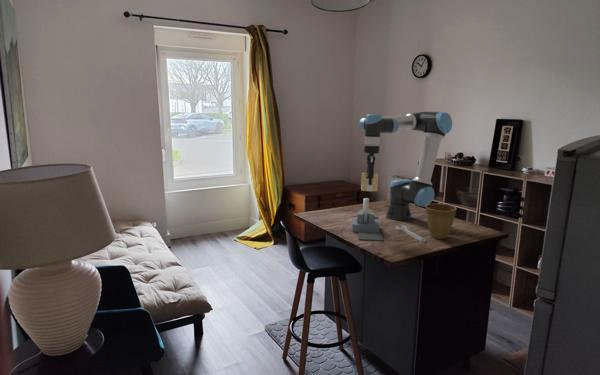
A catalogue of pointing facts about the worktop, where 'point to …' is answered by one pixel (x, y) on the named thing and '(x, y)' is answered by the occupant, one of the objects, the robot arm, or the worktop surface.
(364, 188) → the brass collar
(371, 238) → the rubber mat
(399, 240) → the worktop surface
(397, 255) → the worktop surface
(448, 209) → the plant pot
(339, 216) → the worktop surface
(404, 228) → the adjustable wrench
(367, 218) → the vise
